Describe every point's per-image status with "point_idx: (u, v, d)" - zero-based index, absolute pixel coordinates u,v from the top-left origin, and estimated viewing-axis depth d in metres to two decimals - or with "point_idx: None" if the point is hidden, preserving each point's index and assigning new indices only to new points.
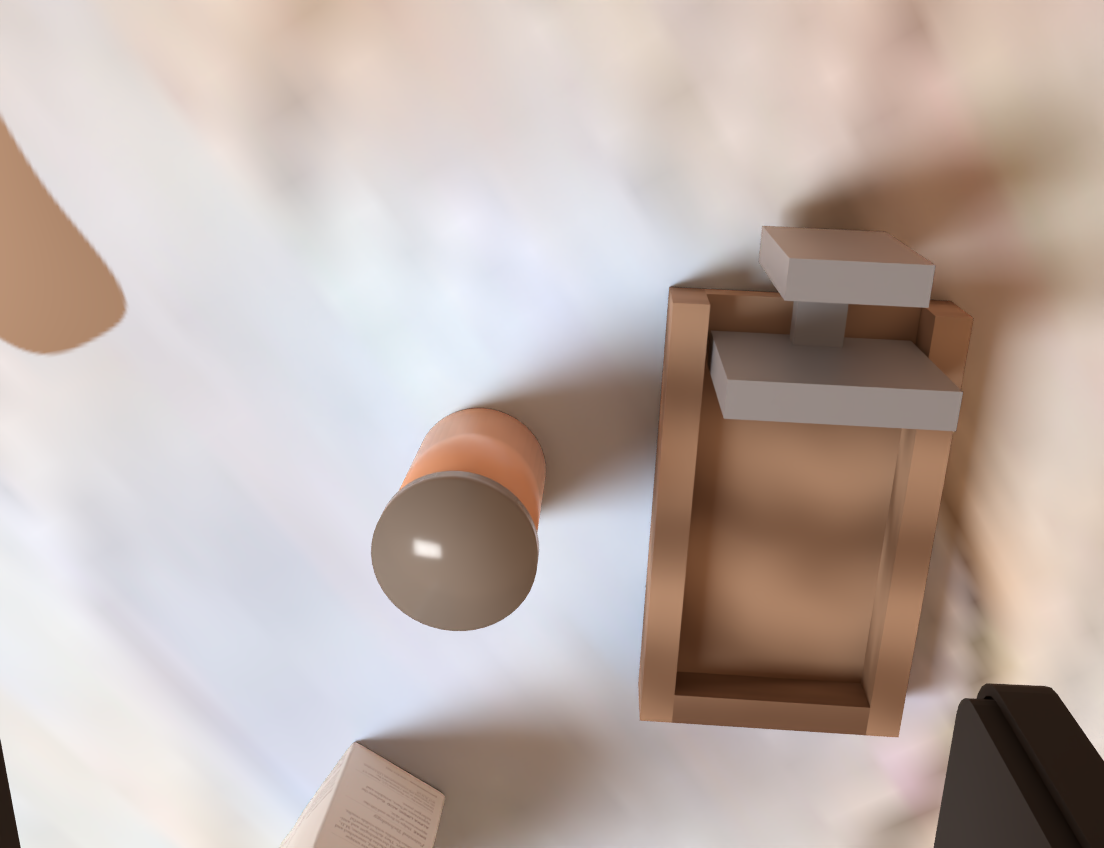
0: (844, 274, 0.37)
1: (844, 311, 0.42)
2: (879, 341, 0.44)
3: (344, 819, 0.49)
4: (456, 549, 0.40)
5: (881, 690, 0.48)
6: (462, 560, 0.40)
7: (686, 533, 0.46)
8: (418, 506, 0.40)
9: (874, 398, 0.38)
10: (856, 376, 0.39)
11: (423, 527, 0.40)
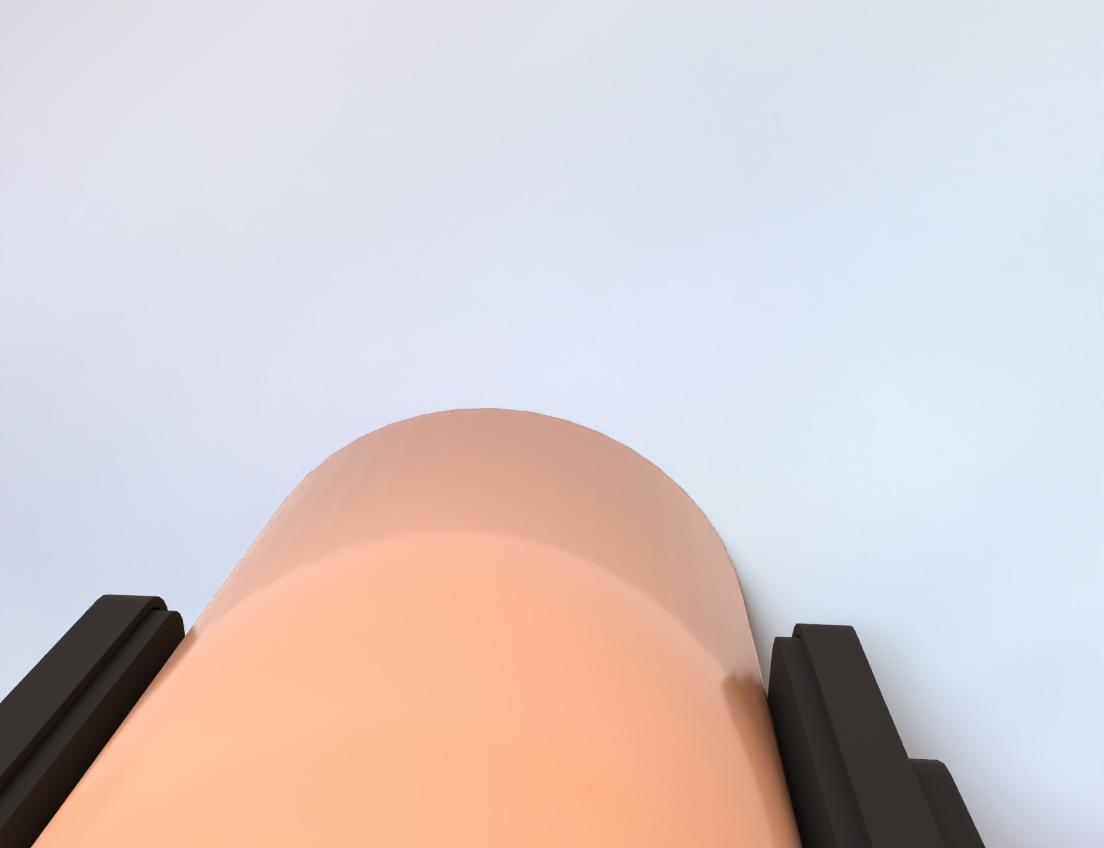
0: None
1: None
2: None
3: None
4: None
5: None
6: None
7: None
8: None
9: None
10: None
11: None
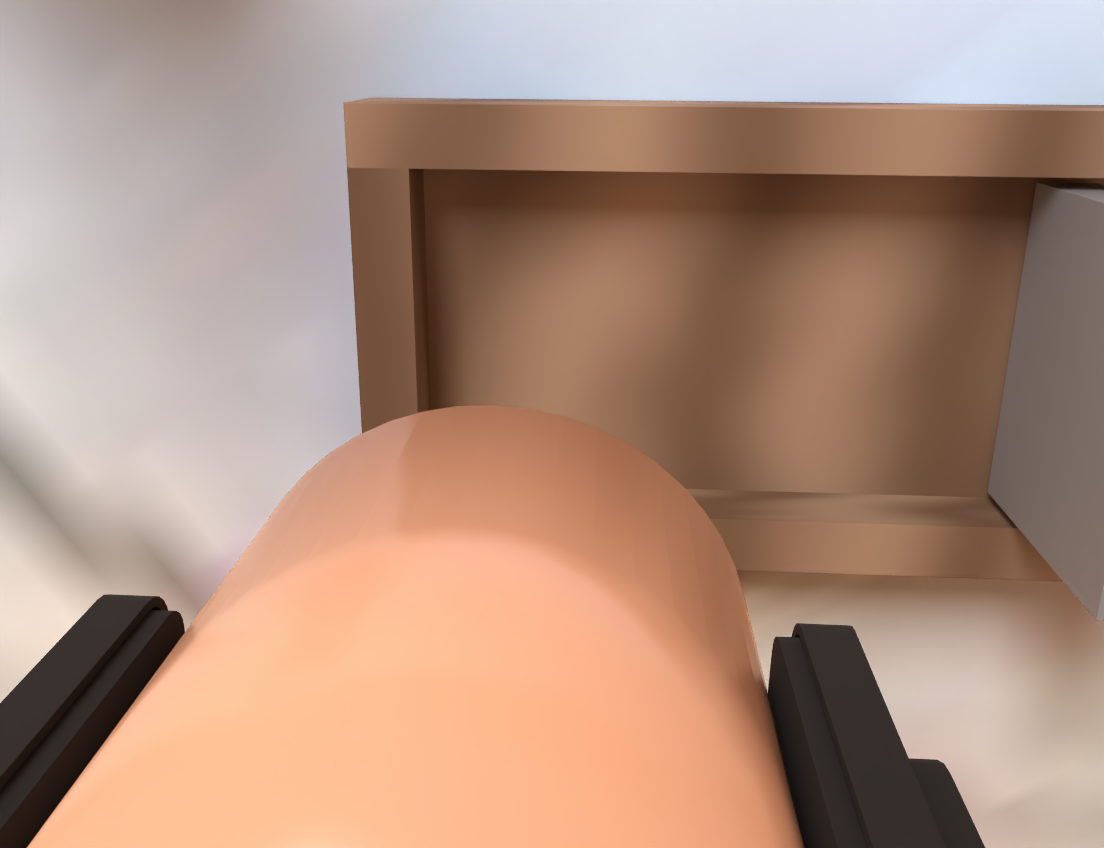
0: None
1: None
2: None
3: None
4: None
5: None
6: None
7: (754, 168, 0.25)
8: None
9: None
10: None
11: None
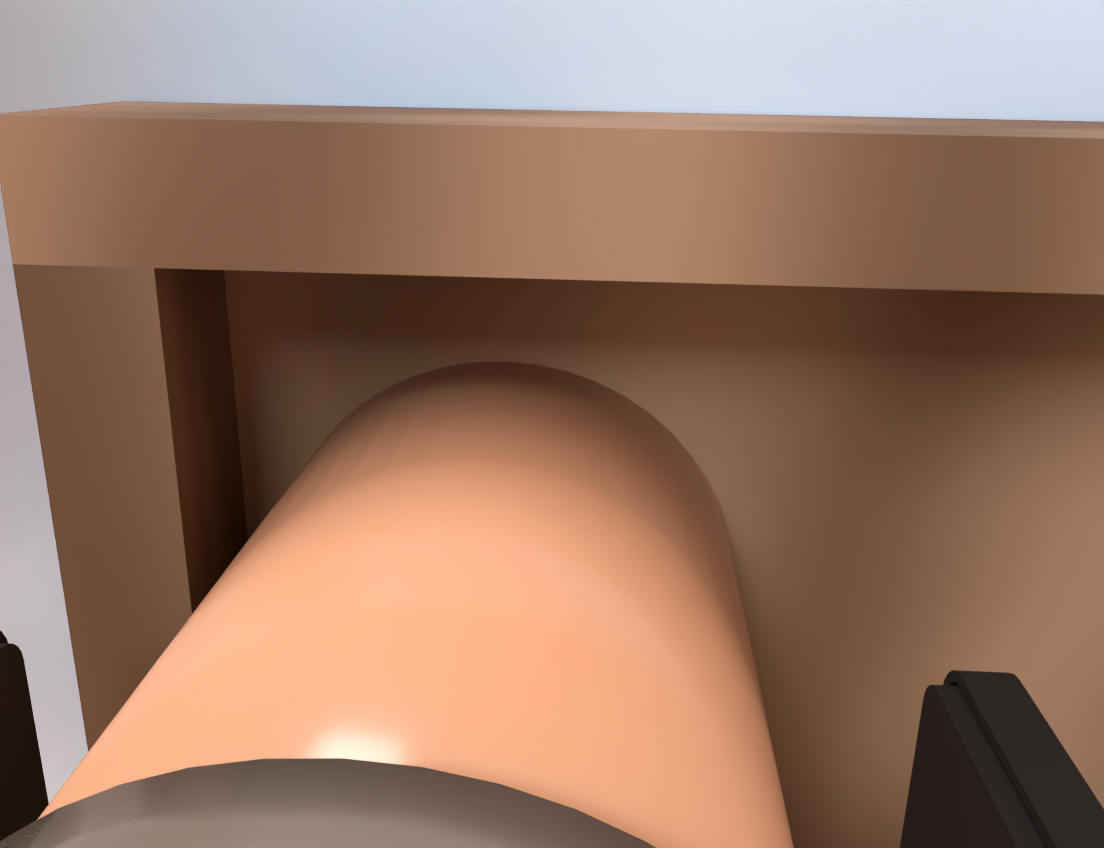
0: None
1: None
2: None
3: None
4: None
5: None
6: None
7: (965, 278, 0.11)
8: None
9: None
10: None
11: None
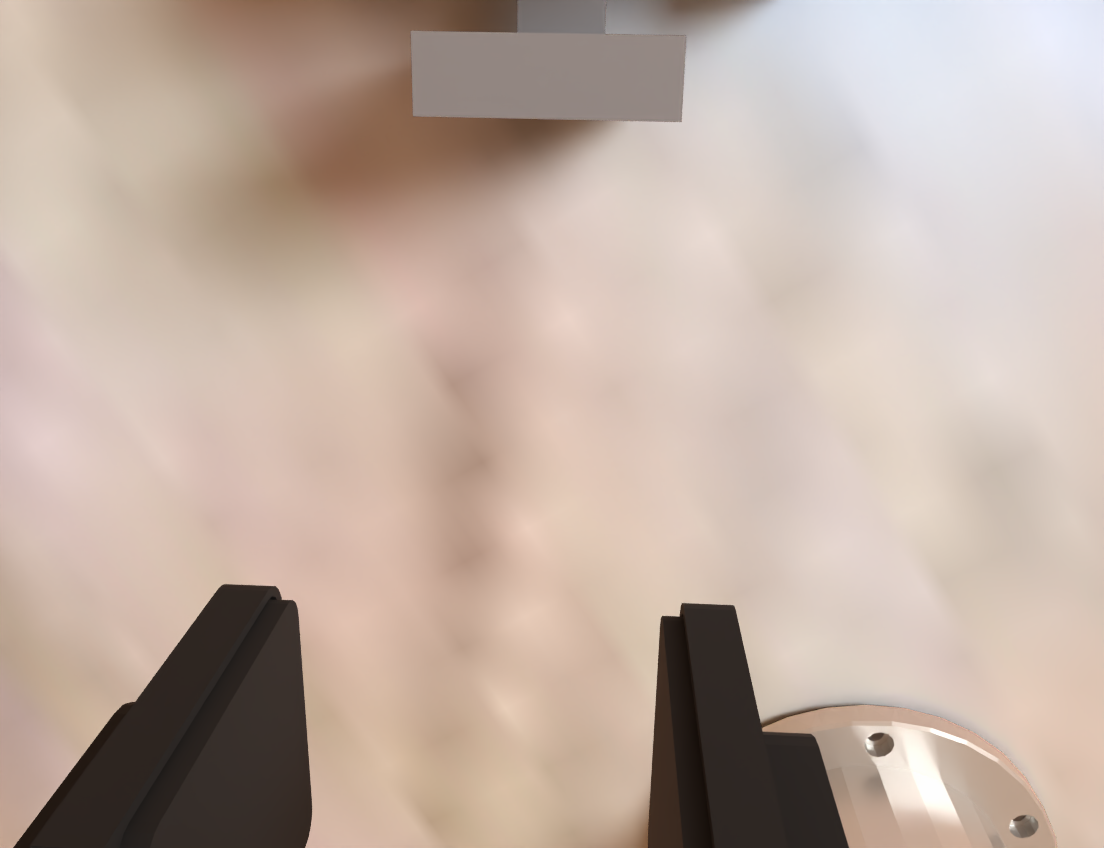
0: (576, 92, 0.19)
1: None
2: None
3: None
4: None
5: None
6: None
7: None
8: None
9: None
10: None
11: None
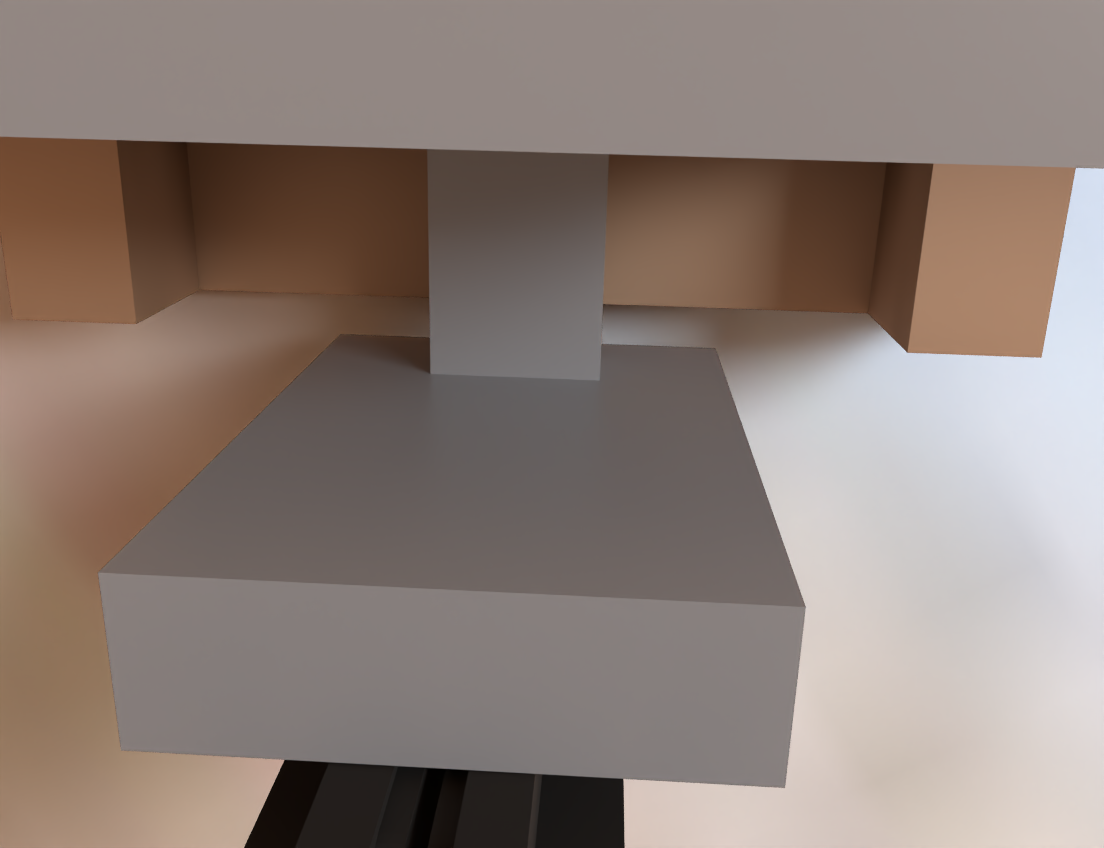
0: (521, 718, 0.08)
1: (439, 248, 0.12)
2: None
3: None
4: None
5: None
6: None
7: None
8: None
9: (257, 74, 0.06)
10: None
11: None
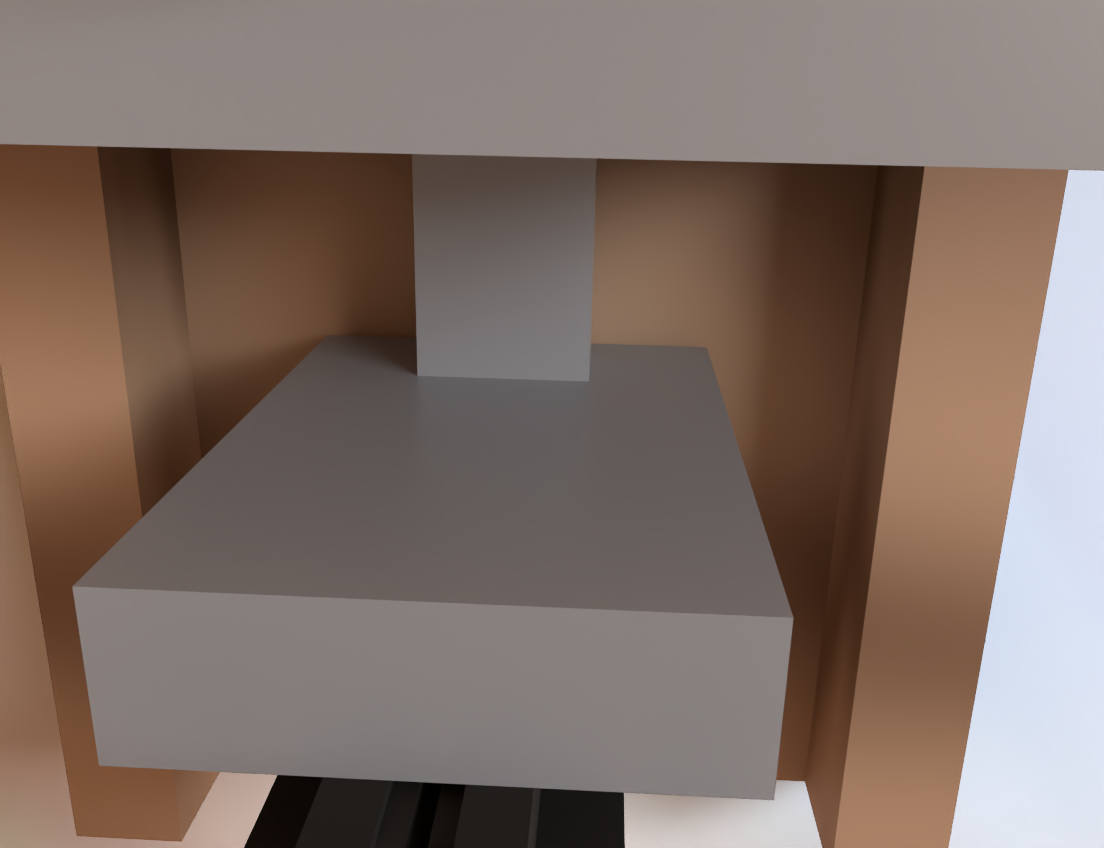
0: (504, 731, 0.08)
1: (425, 248, 0.12)
2: None
3: None
4: None
5: None
6: None
7: None
8: None
9: (229, 77, 0.06)
10: None
11: None
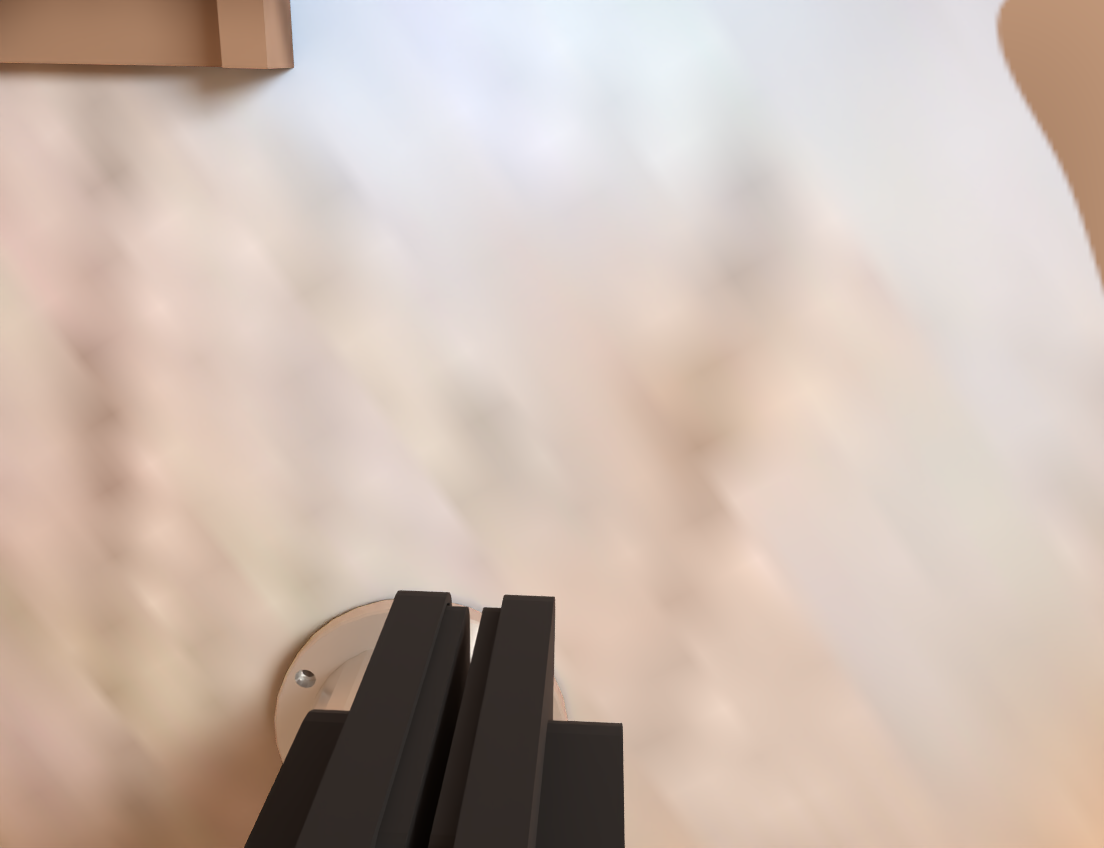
0: None
1: None
2: None
3: None
4: None
5: None
6: None
7: None
8: None
9: None
10: None
11: None
